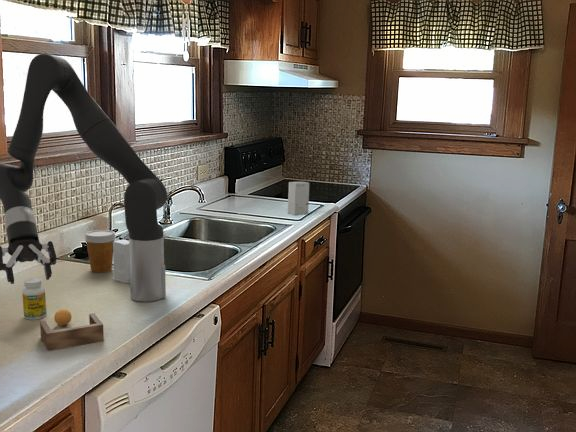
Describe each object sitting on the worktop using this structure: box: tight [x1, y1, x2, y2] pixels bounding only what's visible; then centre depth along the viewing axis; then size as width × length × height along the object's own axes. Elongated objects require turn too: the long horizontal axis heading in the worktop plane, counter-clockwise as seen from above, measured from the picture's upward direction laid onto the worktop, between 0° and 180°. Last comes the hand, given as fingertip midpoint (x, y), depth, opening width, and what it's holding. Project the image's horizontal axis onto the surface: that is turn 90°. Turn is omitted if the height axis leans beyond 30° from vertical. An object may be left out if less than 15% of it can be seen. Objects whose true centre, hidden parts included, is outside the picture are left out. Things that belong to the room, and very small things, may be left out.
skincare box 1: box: [113, 239, 130, 284], centre depth 191 cm, size 6×4×12 cm
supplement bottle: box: [21, 277, 47, 321], centre depth 161 cm, size 5×5×10 cm
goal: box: [39, 313, 105, 352], centre depth 148 cm, size 12×8×4 cm, turn 121°
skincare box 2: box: [287, 181, 310, 216], centre depth 296 cm, size 8×6×15 cm
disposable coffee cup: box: [83, 229, 117, 273], centre depth 201 cm, size 10×10×12 cm
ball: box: [53, 308, 72, 327], centre depth 156 cm, size 4×4×4 cm
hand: (30, 280), depth 163 cm, fingers open, 8 cm apart
